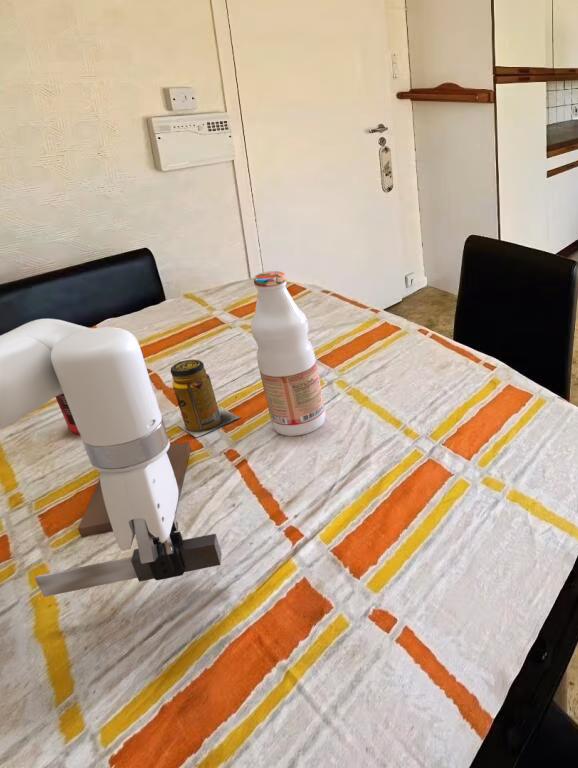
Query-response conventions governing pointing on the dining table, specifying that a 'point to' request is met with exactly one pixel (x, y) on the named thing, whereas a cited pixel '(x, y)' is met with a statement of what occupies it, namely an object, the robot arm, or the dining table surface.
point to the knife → (130, 567)
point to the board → (96, 510)
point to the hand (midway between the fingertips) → (171, 567)
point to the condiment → (197, 399)
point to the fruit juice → (286, 358)
